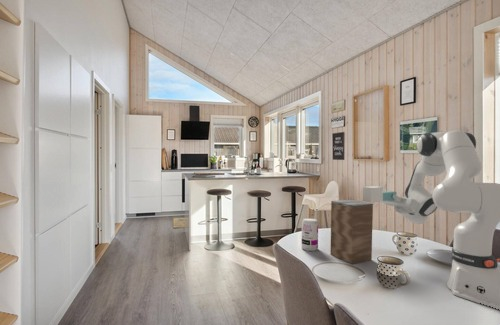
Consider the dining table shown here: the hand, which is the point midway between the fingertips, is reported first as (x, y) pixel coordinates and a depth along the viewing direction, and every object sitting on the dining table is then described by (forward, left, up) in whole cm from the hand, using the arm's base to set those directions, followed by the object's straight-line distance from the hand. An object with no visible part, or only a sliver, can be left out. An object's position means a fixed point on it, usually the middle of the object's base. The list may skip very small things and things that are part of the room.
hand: (388, 194), depth 151 cm
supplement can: (+18, +35, -28) cm, 49 cm away
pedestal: (0, +25, -28) cm, 38 cm away
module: (0, +6, -2) cm, 6 cm away
